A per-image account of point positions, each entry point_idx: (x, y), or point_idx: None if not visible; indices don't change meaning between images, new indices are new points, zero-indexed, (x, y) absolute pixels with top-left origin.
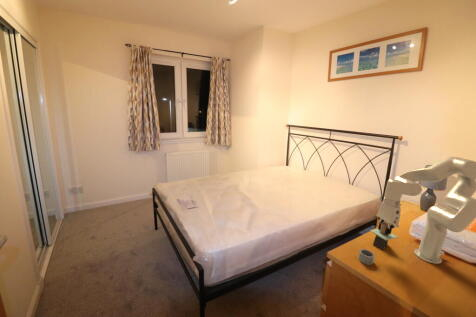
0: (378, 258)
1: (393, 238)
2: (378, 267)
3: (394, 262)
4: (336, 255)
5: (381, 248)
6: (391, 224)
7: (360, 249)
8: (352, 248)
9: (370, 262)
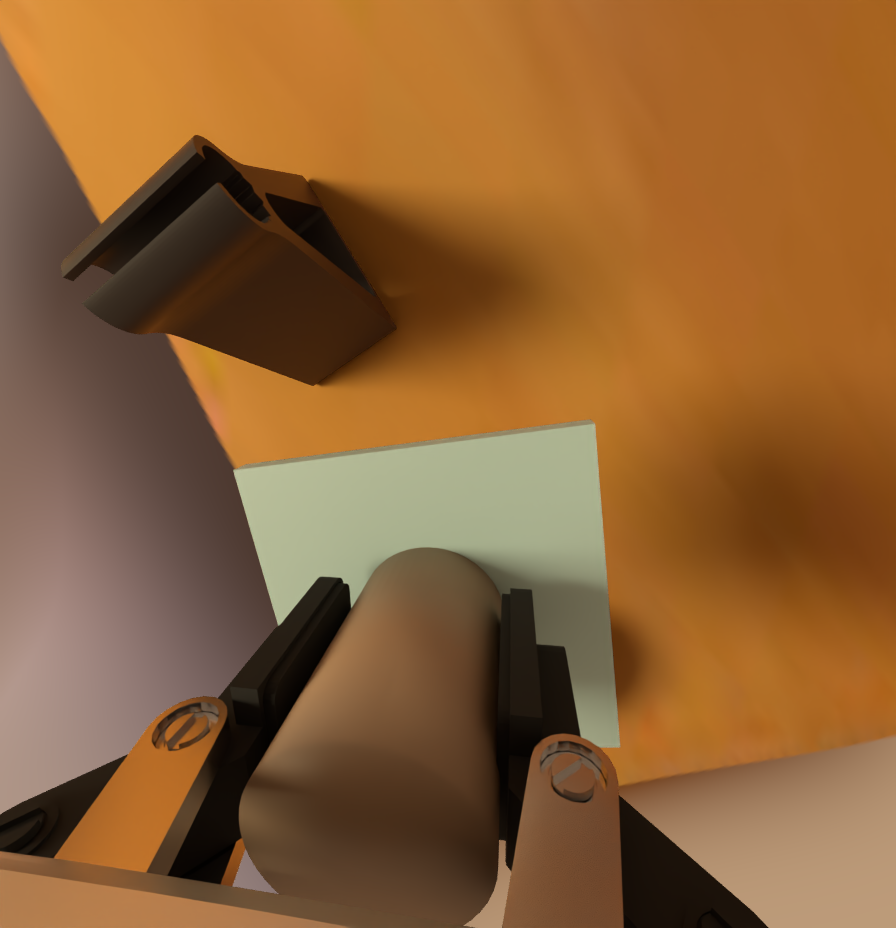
0: None
1: (602, 546)
2: (617, 612)
3: (593, 395)
4: None
5: (378, 340)
6: (536, 907)
7: None
8: None
9: None
